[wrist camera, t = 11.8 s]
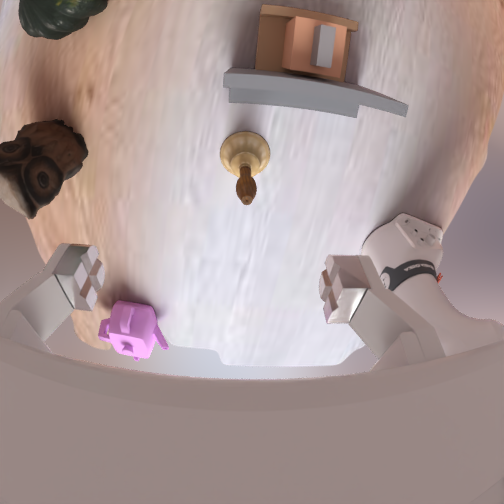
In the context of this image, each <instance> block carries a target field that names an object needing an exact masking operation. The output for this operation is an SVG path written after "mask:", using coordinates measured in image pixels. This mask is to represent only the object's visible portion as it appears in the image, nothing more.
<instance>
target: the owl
mask: <svg viewBox="0 0 504 504" xmlns="http://www.w3.org/2000/svg"><path fill="white" fill-rule="evenodd" d="M87 155H88V150H87V148H86V144H85V142H84V138H83V137H82V135H81V134H78V133H75V132H73V128H72V127H68V126H67V125H65V124H64V121H63V120H57V119H55V120H53V121H43V122H35V123H31V124H28V125H24V126H23V127H22V129H21V130H20V131H18V134H17V136H16V138H15V140H14V141H9V142H3V143H1V144H0V198H1V199H2V200H3V201H4V203H5V204H7V205H8V206H9V207H11V208H12V209H14V210H16V211H18V212H19V213H21V214H23V215H24V216H25V217H27V218H28V219H33V218H34V217H35V216H36V214H37V211H38V210H39V209H40V208H42V207H44V206H46V205H48V204H50V202H51V201H52V200H53V199H54V198H55V196H57V195H58V194H59V192H60V189H61V186H62V184H63V182H64V180H67V179H69V178H71V177H73V176H74V175H75V174H76V173H77V172H79V171H80V169H81V168H82V166H83V163H82V162H83V160H84V159H85V158H86V157H87Z"/></svg>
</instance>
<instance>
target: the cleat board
mask: <svg viewBox="0 0 504 504" xmlns="http://www.w3.org/2000/svg"><path fill="white" fill-rule="evenodd" d="M296 16H298V17H304V18H310V19H315V20H320V21H325V22H329V23H333V24H338V25H342V26H345V27H347V31H346V39H345V47H344V55H343V62H342V69H341V75H340V78H337V77H332V76H327V75H322V74H316V73H311V72H304V71H298V70H290V69H287V68H283V67H282V58H283V49H284V39H285V29H286V23H288V22H289V21H290V20H292V19H293V18H294V17H296ZM357 30H358V22H356V21H353V20H349V19H345V18H341V17H337V16H333V15H329V14H325V13H320V12H315V11H310V10H304V9H298V8H292V7H285V6H276V5H267V4H262V7H261V10H260V18H259V29H258V40H257V51H256V62H255V69H249V68H230V69H229V70H228V71H226V72H225V73H224V80H223V87H225V88H230V90H229V103H249V104H263V105H275V106H285V107H293V108H301V109H308V110H315V111H321V112H328V113H333V114H339V115H344V116H349V117H354V118H357V113H358V108H359V105H364V106H368V107H372V108H375V109H379V110H383V111H387V112H390V113H394V114H397V115H400V116H403V117H406V114H407V110H408V105H406V104H404V103H402V102H400V101H397V100H395V99H393V98H390V97H388V96H386V95H383V94H381V93H378V92H375V91H373V90H370V89H367V88H365V87H362V86H359V85H355V84H351V83H347V82H344V79H345V73H346V66H347V59H348V52H349V45H350V37H351V32H354V31H357Z"/></svg>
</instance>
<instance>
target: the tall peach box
mask: <svg viewBox="0 0 504 504" xmlns="http://www.w3.org/2000/svg"><path fill="white" fill-rule="evenodd" d="M346 31H347V27H345V26H342V25H338V24H333V23H329V22H325V21H320V20H315V19H310V18H304V17H298V16H296V17H294V18H293V19H292V20H290V21H289V22H288V23H286V29H285V39H284V49H283V58H282V67H283V68H287V69H290V70H298V71H304V72H311V73H316V74H322V75H327V76H332V77H337V78H340V75H341V69H342V62H343V55H344V47H345V39H346Z"/></svg>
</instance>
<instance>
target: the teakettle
mask: <svg viewBox="0 0 504 504" xmlns="http://www.w3.org/2000/svg"><path fill="white" fill-rule="evenodd" d="M108 329H109V335H107V331H108ZM98 337H99V339H100V340H102V341H106V342H110V343H112V345H113V347H114V349H115V350H116V351H117V352H118V353H121V354H125V355H129V356H134V360H135V361H139V359H140V357H141V358H149V356H150V353H151V351H152V349H153V346H154V344H155V340H156V341H157V342H158V344H159V345H160V346H161V348H162V349H163V350H168V349H169V347H168V344H167V343H166V341H165V339H164V337H163V335H162V333H161V331H160V329H159V327H158V325H157V319H156V315H155V312H154V309H153V307H152V306H149V305H145V304H139V303H134V302H127V301H120V300H118V301H117V302H116V303H115V304H114V306H113V308H112V312H111V316H110V318H108V319H104V320H101V325H100V329H99V334H98Z"/></svg>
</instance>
